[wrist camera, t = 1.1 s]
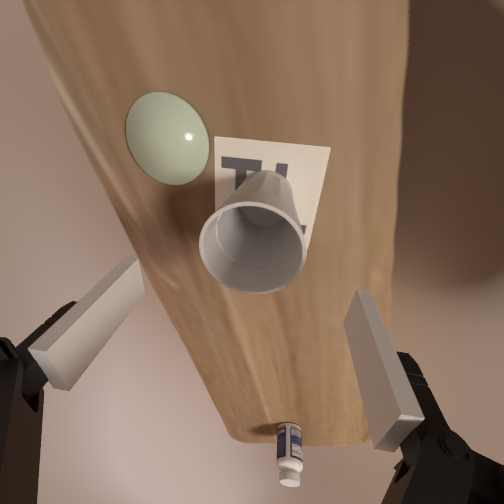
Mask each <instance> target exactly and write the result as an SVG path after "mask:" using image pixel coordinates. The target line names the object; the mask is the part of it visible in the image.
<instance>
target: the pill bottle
mask: <svg viewBox="0 0 504 504" xmlns="http://www.w3.org/2000/svg"><path fill="white" fill-rule="evenodd" d="M302 462H303V461H302V434H301V428H300V427H299V426H298V425H296V424H294V423H282V424H280V425H279V426H278V435H277V466H278V468H279V469H280V470H281V472H280V483H281V484H283V485H285V486H289V487H296V486H299V485H300V477H299V474H298V473H299V472H300V471H301V470H302V467H303V463H302Z"/></svg>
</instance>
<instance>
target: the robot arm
mask: <svg viewBox="0 0 504 504" xmlns="http://www.w3.org/2000/svg"><path fill="white" fill-rule="evenodd" d="M144 294H145V290H144V284H143V279H142V275H141V270H140V265H139V260H138V258H131V257H126V258H125V259H123V260H122V261H121V262H120V263H119V264H118V265H117V266H116V267H115V268H114V269H113V270H112V271H111V272H109V274H107V275H106V276H105V277H104V278H103V279H102V280H101V281H100V282H99V283H98V284H97V285H95V286H94V287H93V288H92V289H91V290H90V291H89V292H88V293H87V294H86V295H85V296H84V297H83V298H81V300H79V301H78V302H75V301H72V302H70V303H68V304H66V305H65V306H63V307H61V308H60V309H59V310H58V311H57V312H55V313H54V314H53V315H52V317H50V318H49V319H47V320H46V321H45V323H44V324H42V325H41V326H39V328H37V329H36V330H35V331H34V332H33V333H32V334H30V335H29V336H28V337H27V338H26V339H25V340H24V341H23V342H22V343H20V344H19V345H18V346H17V347H16V348H15V347H14V345H13V344H12V342H11V341H10V340H9V339H7V338H5V337H0V504H37V493H38V478H39V463H40V448H41V433H42V418H43V403H44V390H43V386H44V385H45V384H46V382H48V381H49V382H50V384H51V385H52V387H53V388H55V389H60V390H66V391H70V389H71V388H72V387H73V386H74V384H75V383H76V382H77V380H78V379H79V378H80V377H81V375H82V374H83V373H84V371H85V370H86V369H87V368H88V366H89V365H90V363H91V362H92V361H93V360H94V358H95V357H96V356H97V355H98V353H99V352H100V351H101V349H102V348H103V347H104V346H105V344H106V343H107V342H108V340H109V339H110V338H111V336H112V335H113V334H114V333H115V331H116V330H117V329H118V327H119V326H120V325H121V323H122V322H123V321H124V320H125V318H126V317H127V316H128V314H129V313H130V312H131V310H132V309H133V308H134V307H135V305H136V304H137V303H138V301H139V300H140V299H141V298H142V296H143V295H144ZM344 326H345V331H346V335H347V339H348V343H349V347H350V351H351V355H352V359H353V363H354V367H355V372H356V376H357V380H358V384H359V388H360V392H361V396H362V400H363V404H364V408H365V413H366V417H367V421H368V425H369V429H370V433H371V437H372V441H373V445H374V448H375V449H379V450H385V451H390V452H395V450H396V449H397V448H398V447H399V446H400V447H401V451H402V453H403V457H404V458H403V459H402V460H401V461H400V462H399V463H398V464H397V465H396V466H395V467H394V469H395V470H396V472H395V475H394V477H393V479H392V481H391V483H390V486H389V488H388V490H387V492H386V494H385V497H384V499H383V501H382V503H381V504H504V465H501V464H499V463H497V462H495V461H493V460H491V459H489V458H487V457H485V456H483V455H481V454H479V453H477V452H475V451H473V450H472V449H470V447H469V446H468V445H467V443H466V442H465V441H464V440H463V439H462V438H461V437H460V436H459V435H458V434H457V433H455V432H453V431H452V430H451V429H450V428H449V426H448V424H447V422H446V420H445V418H444V416H443V414H442V412H441V410H440V408H439V406H438V404H437V402H436V400H435V398H434V396H433V394H432V392H431V390H430V388H428V384H427V382H426V380H425V378H424V377H423V374H422V372H421V370H420V368H419V366H418V364H417V363H416V361H415V360H414V359H413V358H412V357H411V356H410V355H409V354H408V353H403V352H397V351H396V350H395V348H394V345H393V343H392V341H391V338H390V336H389V334H388V331H387V329H386V327H385V324H384V322H383V320H382V317H381V315H380V313H379V310H378V308H377V306H376V303H375V301H374V299H373V296H372V294H371V292H370V291H367V290H360V289H356V292H355V294H354V297H353V300H352V302H351V305H350V307H349V310H348V312H347V315H346V318H345V320H344Z"/></svg>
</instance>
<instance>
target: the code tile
mask: <svg viewBox="0 0 504 504" xmlns="http://www.w3.org/2000/svg"><path fill="white" fill-rule="evenodd" d="M330 150H331V147H322V146H311V145H301V144H291V143H280V142H270V141H260V140H249V139H239V138H228V137H218V136H214V152H215V211H216V210H217V209H218V208H219V207H220V206H221V205H222V204H223V203H224V202H225V201H226V200H227V199H228V198H229V197H230V196H231V195H232V194H233V193H234V192H235V191H236V190H237V189H238V187H239V186H240V185H241V184H242V183H243V181H244V180H245V179H246V178H247V177H248V176H249V175H251V174H252V173H254V172H257V171H261V170H270V171H274V172H277V173H279V174H281V175H282V176H283V177H285V178H286V179H287V181H288V182H289V183H290V185H291V187H292V190H293V199H294V203H295V207H296V211H297V215H298V218H299V221H300V225H301V228H302V231H303V235H304V238H305V242H306V248H307V249H308V246H309V242H310V238H311V233H312V229H313V224H314V220H315V216H316V211H317V207H318V202H319V198H320V194H321V189H322V185H323V180H324V176H325V172H326V167H327V163H328V159H329V154H330Z"/></svg>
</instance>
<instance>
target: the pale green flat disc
mask: <svg viewBox="0 0 504 504" xmlns="http://www.w3.org/2000/svg"><path fill="white" fill-rule="evenodd" d="M126 138H127V142H128V146H129V149H130V151H131V153H132V155H133V157H134V159H135V161H136V162H137V163H138V165H139V166H140V167H141V168H142V169H143V170H144V171H145V172H146V173H147V174H148V175H149V176H151V177H152V178H154V179H156V180H157V181H160V182H162V183H165V184H170V185H182V184H186V183H188V182H190V181H192V180H194V179H195V178H196V177H197V176H199V175H200V174H201V172H202V171H203V170H204V168H205V166H206V164H207V162H208V158H209V153H210V141H209V135H208V132H207V128H206V126H205V124H204V122H203V120H202V118H201V116H200V115H199V114H198V112H197V111H196V110H195V109H194V108H193V106H192V105H190V104H189V103H188V102H187V101H185V100H184V99H182V98H181V97H179V96H177V95H174V94H171V93H165V92H153V93H149V94H146V95H144V96H142V97H140V98H139V99H138V100H137V101H136V102H135V103H134V104H133V105H132V107H131V109H130V111H129V113H128V116H127V120H126Z"/></svg>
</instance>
